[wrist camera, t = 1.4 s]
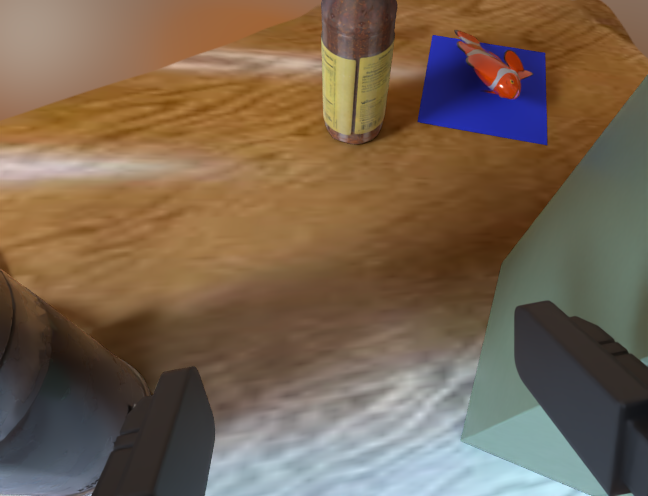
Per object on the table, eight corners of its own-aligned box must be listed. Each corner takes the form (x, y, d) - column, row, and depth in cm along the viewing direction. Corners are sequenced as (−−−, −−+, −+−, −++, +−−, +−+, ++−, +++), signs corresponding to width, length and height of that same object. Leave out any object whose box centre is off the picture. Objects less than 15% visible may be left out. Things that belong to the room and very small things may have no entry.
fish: (544, 88, 42) (453, 72, 43) (524, 125, 47) (441, 110, 47) (543, 8, 49) (463, -4, 50) (525, 47, 53) (452, 35, 54)
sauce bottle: (383, 107, 48) (421, -114, 31) (381, 150, 45) (422, -68, 28) (322, 101, 49) (327, -121, 31) (316, 145, 45) (318, -75, 28)
